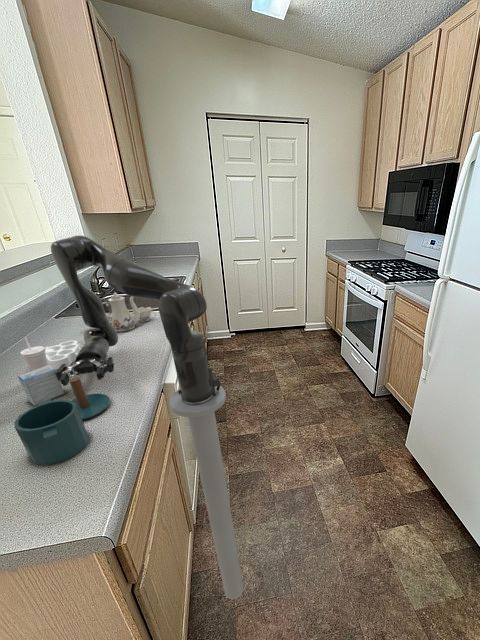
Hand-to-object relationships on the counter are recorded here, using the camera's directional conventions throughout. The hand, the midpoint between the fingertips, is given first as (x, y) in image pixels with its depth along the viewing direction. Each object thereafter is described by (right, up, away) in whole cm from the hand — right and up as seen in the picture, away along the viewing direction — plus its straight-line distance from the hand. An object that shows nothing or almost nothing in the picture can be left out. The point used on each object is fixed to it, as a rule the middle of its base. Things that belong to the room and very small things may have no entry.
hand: (81, 379), depth 92 cm
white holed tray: (-26, +6, +28) cm, 39 cm away
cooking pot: (+5, -15, -14) cm, 21 cm away
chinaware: (-18, +21, +57) cm, 63 cm away
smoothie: (-23, 0, +17) cm, 28 cm away
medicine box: (-13, -6, +5) cm, 15 cm away
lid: (+2, -8, -1) cm, 8 cm away
